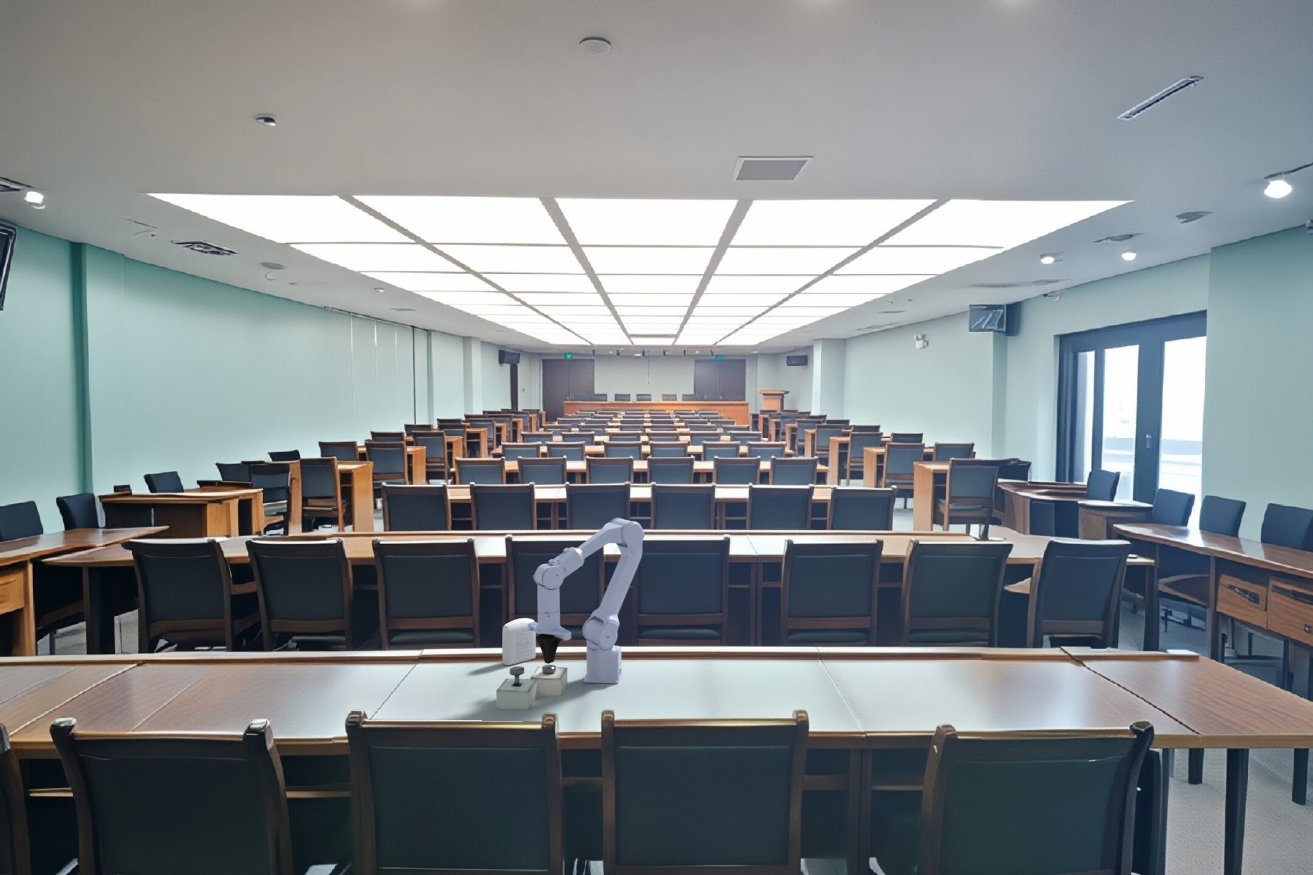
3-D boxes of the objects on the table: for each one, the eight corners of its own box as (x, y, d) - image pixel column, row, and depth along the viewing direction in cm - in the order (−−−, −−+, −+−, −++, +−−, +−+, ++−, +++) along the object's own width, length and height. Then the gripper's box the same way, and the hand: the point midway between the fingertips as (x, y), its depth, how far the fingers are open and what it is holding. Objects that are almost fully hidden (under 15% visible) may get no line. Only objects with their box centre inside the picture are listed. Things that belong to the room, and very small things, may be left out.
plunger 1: (530, 685, 174) (529, 665, 174) (524, 693, 169) (524, 672, 169) (509, 685, 175) (509, 664, 174) (503, 693, 169) (503, 672, 169)
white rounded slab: (530, 655, 207) (529, 614, 207) (538, 658, 204) (537, 617, 204) (500, 663, 200) (499, 621, 200) (507, 667, 197) (507, 624, 197)
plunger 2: (561, 683, 183) (561, 663, 183) (556, 690, 177) (556, 670, 177) (541, 682, 183) (541, 663, 183) (536, 690, 178) (536, 670, 178)
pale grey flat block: (536, 696, 175) (536, 679, 175) (528, 709, 167) (528, 691, 167) (506, 695, 176) (506, 678, 176) (496, 708, 168) (496, 690, 168)
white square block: (567, 684, 184) (567, 667, 184) (560, 695, 176) (560, 678, 176) (538, 683, 185) (537, 666, 184) (530, 694, 177) (530, 677, 177)
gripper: (518, 609, 181) (519, 660, 182) (556, 618, 172) (557, 672, 173) (538, 603, 187) (539, 653, 187) (576, 612, 178) (577, 664, 178)
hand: (549, 662), depth 180 cm, fingers closed
